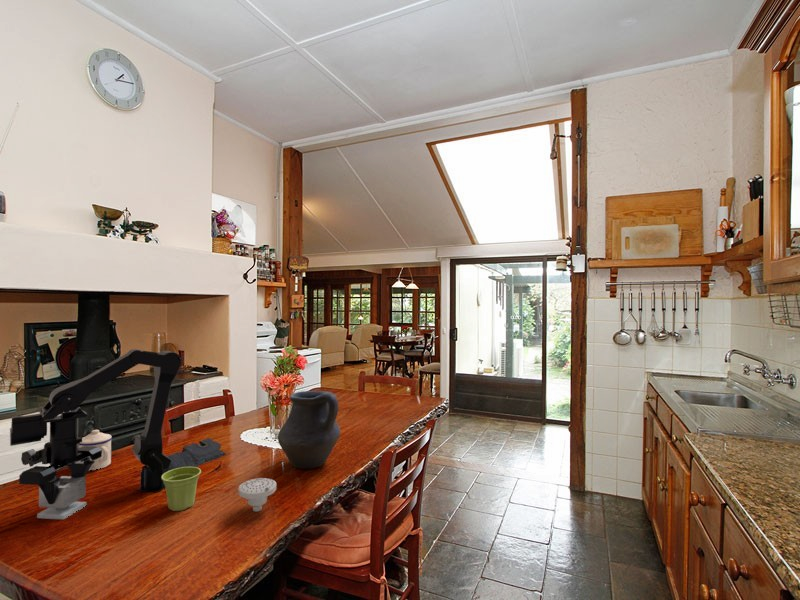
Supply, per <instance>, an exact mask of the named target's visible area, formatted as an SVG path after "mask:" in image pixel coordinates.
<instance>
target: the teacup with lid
mask: <svg viewBox="0 0 800 600" xmlns="http://www.w3.org/2000/svg"><path fill="white" fill-rule="evenodd" d="M81 438H82V442H80V443H78V448H81V447H83V446H94V447H99V448H100V449H101V450H102V457H100V458H98V459H96V460H92V459H90V460H92V461H95V463H93V464H92V466H91V467H90V469H89V471H88V472H91V471H90V470H92V471H97V470H96V469H98V470H101V469H103V468H106V467H108V466H110V464H111V463H112V439H113V437H112V435H111V434H109V433H104V432H100V430H99V429H94V430H92V431H91V432H90V433H89V434H87V435H86V436H84V437H81ZM89 458H90V457H89ZM100 468H101V469H100Z"/></svg>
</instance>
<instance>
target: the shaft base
mask: <svg viewBox="0 0 800 600" xmlns="http://www.w3.org/2000/svg"><path fill="white" fill-rule="evenodd" d="M86 505H88V503H87V501H76V502H74V503H72V504H71V505H69V506H67V507H65V508H48V507H46V509H44V510H42V511H40V512H38V513H37V515H36V518H37V519H46V520H47V519H48V520H66V519H67V518H69V517H70V516H72V515H74V514H75V513H77V512H79V511H80V510H82V509H84V508H86V507H87V506H86ZM85 506H86V507H85ZM83 507H84V508H83ZM78 510H79V511H78ZM76 511H77V512H76ZM73 513H74V514H73ZM68 516H69V517H68Z"/></svg>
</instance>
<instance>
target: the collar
mask: <svg viewBox="0 0 800 600" xmlns="http://www.w3.org/2000/svg"><path fill="white" fill-rule="evenodd" d="M60 477H61V479H60V483H59V487H58V491H57V495H56V499H55V502H54V504H48V502H47V500H46V498H45V496H44V494H43V492H42V490H41V488H40V487H39V486H38V508H65V507H67V506H69V505H71V504H72V503H74V502H79V500H81V499H82V498H84V497H86V492H87V491H86V487H87V485H86V483H87V482H86V481H87V479H86V478H87V477H86V476H85V477H73V476H71V475H69V476H68V475H61V476H60Z"/></svg>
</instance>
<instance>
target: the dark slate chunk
mask: <svg viewBox="0 0 800 600" xmlns="http://www.w3.org/2000/svg"><path fill="white" fill-rule="evenodd" d="M221 446H222V444H221V443H220V442H218V441H215V440H213V439H211V438H210V437H207V438H205V439H201V440H199V441H198V443H191V444H189V445H188V444H186V445H183V447H182V450H181V451H178V452H175V453H172V454H171V453H170V454H169V455H166V456H167V457H168V458H169V459H170V460H171V463H170V465H169V471H170V470H173V469H176V468H181V467H196V466H197V467H199V466H198V465H200V466H202V465H201V464H203V465H205V464H207V463H206V462H208V463H210V462H212V460H213V461H215V460H217V459H219V457H220V458H222V457H221V456H223V457H225V456H227V452H224V451H223V450H221ZM224 455H225V456H224ZM214 459H215V460H214ZM209 461H210V462H209ZM204 463H205V464H204Z"/></svg>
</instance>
